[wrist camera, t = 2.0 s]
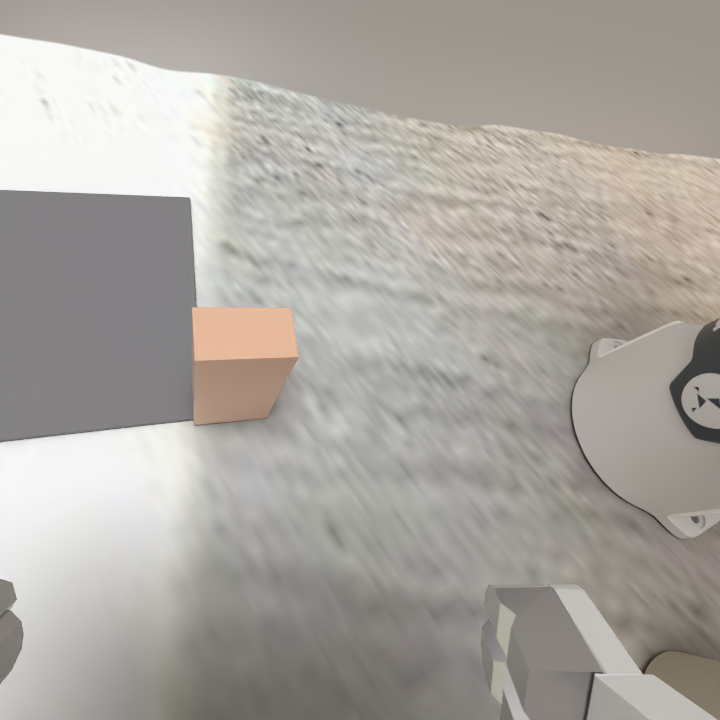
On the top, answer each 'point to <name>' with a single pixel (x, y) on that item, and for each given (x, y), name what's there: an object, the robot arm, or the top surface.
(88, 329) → the mat
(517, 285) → the top surface
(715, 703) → the travel mug
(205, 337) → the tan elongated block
